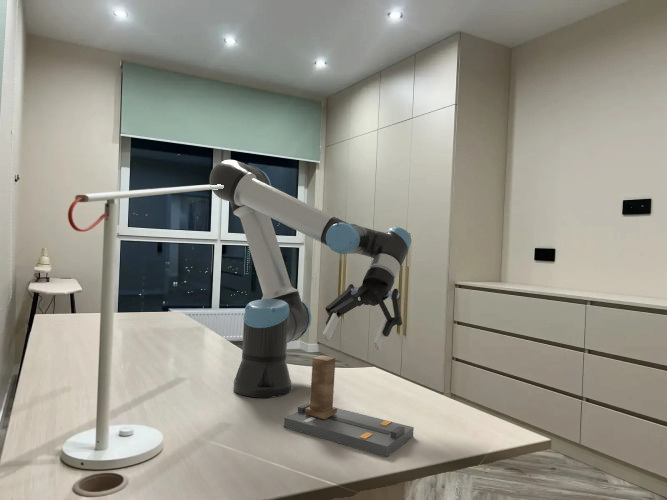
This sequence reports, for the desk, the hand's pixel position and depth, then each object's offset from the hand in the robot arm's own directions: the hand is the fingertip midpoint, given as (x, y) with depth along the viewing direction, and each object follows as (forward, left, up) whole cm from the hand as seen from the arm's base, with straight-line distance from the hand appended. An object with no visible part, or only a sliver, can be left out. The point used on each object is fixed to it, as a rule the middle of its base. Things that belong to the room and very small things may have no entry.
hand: (350, 341), depth 119 cm
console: (+6, -10, -17) cm, 21 cm away
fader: (-1, -10, -14) cm, 18 cm away
